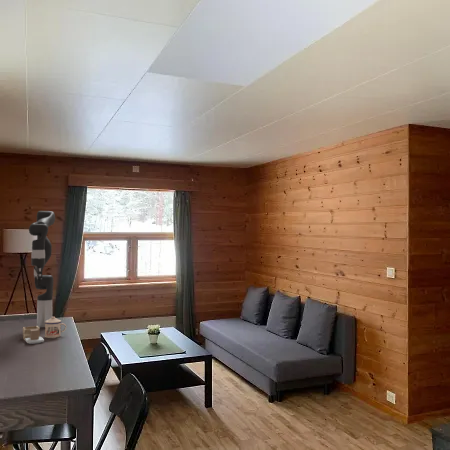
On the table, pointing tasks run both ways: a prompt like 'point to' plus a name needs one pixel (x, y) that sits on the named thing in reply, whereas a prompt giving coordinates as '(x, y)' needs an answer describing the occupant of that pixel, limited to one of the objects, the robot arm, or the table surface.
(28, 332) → the box
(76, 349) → the table surface
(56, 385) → the table surface
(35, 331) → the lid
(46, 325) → the teacup with lid
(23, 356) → the table surface
